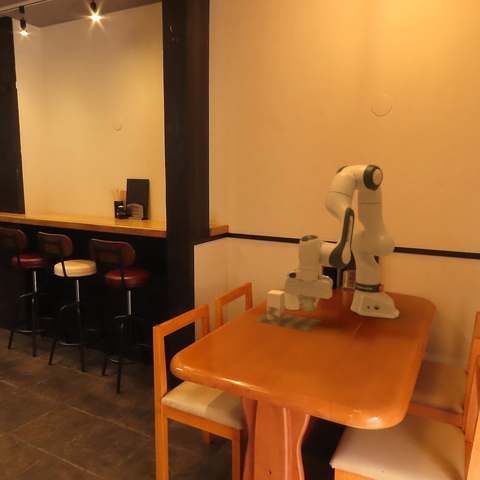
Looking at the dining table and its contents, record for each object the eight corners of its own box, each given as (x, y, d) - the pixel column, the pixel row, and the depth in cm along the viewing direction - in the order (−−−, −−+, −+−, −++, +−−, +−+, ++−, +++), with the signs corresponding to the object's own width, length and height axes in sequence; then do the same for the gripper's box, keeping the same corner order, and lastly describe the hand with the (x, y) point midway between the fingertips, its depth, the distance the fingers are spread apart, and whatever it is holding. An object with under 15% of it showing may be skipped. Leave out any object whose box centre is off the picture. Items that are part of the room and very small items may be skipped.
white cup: (300, 308, 205) (300, 288, 203) (300, 313, 197) (301, 293, 195) (283, 307, 205) (284, 288, 204) (284, 312, 198) (284, 292, 196)
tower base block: (284, 317, 186) (284, 304, 185) (279, 321, 181) (279, 308, 180) (271, 315, 189) (272, 302, 188) (266, 319, 183) (266, 306, 182)
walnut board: (322, 323, 183) (322, 320, 183) (311, 335, 169) (311, 332, 169) (267, 314, 195) (268, 311, 195) (253, 324, 181) (253, 321, 181)
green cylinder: (314, 308, 179) (315, 297, 178) (311, 312, 174) (311, 300, 174) (304, 307, 181) (304, 296, 180) (300, 310, 177) (300, 299, 176)
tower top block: (284, 304, 185) (285, 291, 184) (279, 308, 180) (280, 294, 179) (272, 302, 188) (272, 289, 187) (266, 306, 182) (267, 292, 182)
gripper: (334, 275, 173) (333, 307, 176) (288, 270, 183) (288, 300, 185) (331, 278, 168) (329, 311, 170) (283, 273, 177) (282, 304, 179)
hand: (307, 305), depth 177 cm, fingers closed on green cylinder, 5 cm apart
